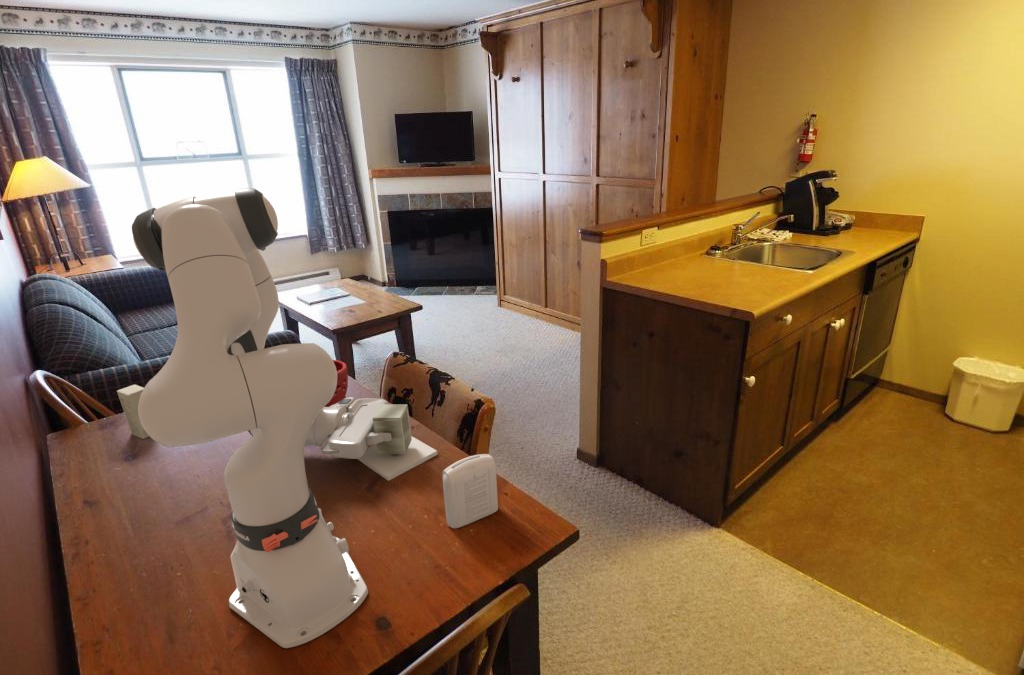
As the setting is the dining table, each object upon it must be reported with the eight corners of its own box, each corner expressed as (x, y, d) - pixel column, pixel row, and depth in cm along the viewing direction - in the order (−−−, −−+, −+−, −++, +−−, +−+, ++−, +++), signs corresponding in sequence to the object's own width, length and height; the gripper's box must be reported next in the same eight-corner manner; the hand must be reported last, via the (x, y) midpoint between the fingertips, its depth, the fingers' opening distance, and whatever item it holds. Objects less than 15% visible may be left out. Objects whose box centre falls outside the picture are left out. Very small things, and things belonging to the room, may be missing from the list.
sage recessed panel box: (378, 454, 118) (372, 417, 115) (386, 439, 124) (381, 404, 120) (404, 454, 117) (400, 417, 114) (411, 439, 123) (407, 404, 120)
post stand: (437, 454, 121) (434, 422, 118) (388, 480, 113) (383, 446, 110) (403, 434, 130) (399, 404, 127) (355, 458, 121) (350, 425, 119)
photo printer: (490, 499, 106) (486, 444, 101) (502, 511, 102) (498, 455, 98) (442, 520, 101) (436, 463, 96) (453, 533, 97) (447, 475, 93)
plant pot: (339, 421, 138) (331, 378, 133) (291, 419, 140) (282, 377, 136) (360, 398, 150) (354, 358, 145) (316, 396, 152) (309, 357, 148)
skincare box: (161, 432, 136) (147, 388, 132) (142, 440, 133) (128, 395, 129) (148, 425, 140) (135, 383, 135) (130, 433, 136) (115, 390, 132)
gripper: (313, 439, 109) (380, 439, 108) (349, 393, 128) (406, 393, 127) (318, 466, 111) (384, 466, 110) (353, 417, 130) (409, 417, 129)
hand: (396, 427), depth 119 cm, fingers closed on sage recessed panel box, 6 cm apart
